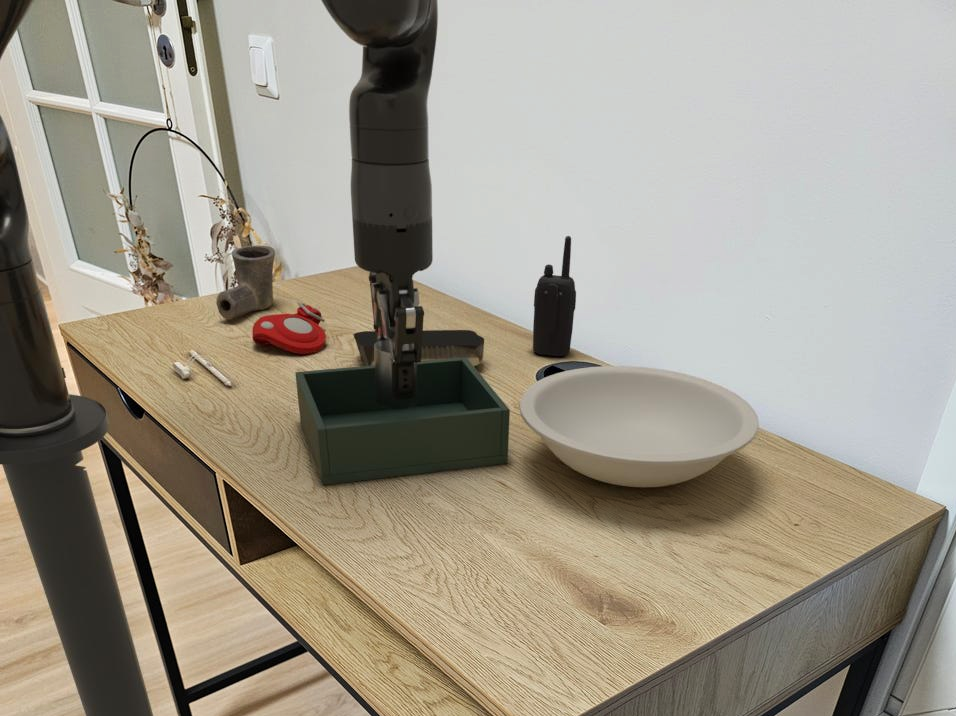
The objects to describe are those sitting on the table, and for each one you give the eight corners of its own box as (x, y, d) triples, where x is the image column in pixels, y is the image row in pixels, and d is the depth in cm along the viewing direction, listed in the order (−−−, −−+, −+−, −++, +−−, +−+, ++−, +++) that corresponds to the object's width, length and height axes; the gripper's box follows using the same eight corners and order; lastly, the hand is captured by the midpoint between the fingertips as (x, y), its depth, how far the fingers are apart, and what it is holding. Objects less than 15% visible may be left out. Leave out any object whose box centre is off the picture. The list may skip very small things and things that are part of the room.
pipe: (210, 321, 128) (201, 263, 123) (255, 297, 138) (248, 242, 133) (248, 327, 126) (240, 268, 122) (290, 302, 136) (284, 246, 131)
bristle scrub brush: (359, 377, 112) (357, 348, 110) (357, 353, 119) (355, 326, 116) (486, 373, 114) (487, 345, 112) (477, 350, 121) (477, 323, 119)
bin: (322, 485, 89) (317, 429, 85) (300, 423, 100) (295, 371, 97) (507, 463, 94) (510, 409, 90) (465, 406, 105) (466, 356, 102)
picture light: (233, 387, 108) (231, 370, 107) (199, 394, 106) (196, 377, 105) (193, 353, 117) (190, 337, 116) (161, 359, 115) (157, 342, 114)
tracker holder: (332, 346, 117) (255, 332, 114) (326, 374, 120) (251, 362, 117) (326, 298, 125) (254, 283, 121) (321, 326, 128) (250, 313, 125)
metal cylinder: (381, 411, 92) (378, 354, 88) (372, 395, 95) (369, 339, 92) (422, 407, 93) (421, 351, 89) (412, 392, 96) (411, 337, 93)
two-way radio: (573, 351, 121) (583, 234, 112) (567, 362, 118) (577, 242, 109) (533, 347, 122) (540, 230, 113) (527, 358, 119) (533, 239, 110)
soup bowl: (548, 533, 82) (554, 469, 78) (495, 427, 101) (497, 370, 97) (786, 514, 86) (803, 451, 82) (692, 415, 105) (702, 360, 101)
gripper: (339, 198, 87) (350, 367, 98) (368, 232, 77) (377, 418, 87) (412, 195, 89) (416, 362, 100) (451, 228, 78) (450, 411, 89)
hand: (398, 387), depth 93 cm, fingers closed on metal cylinder, 4 cm apart
